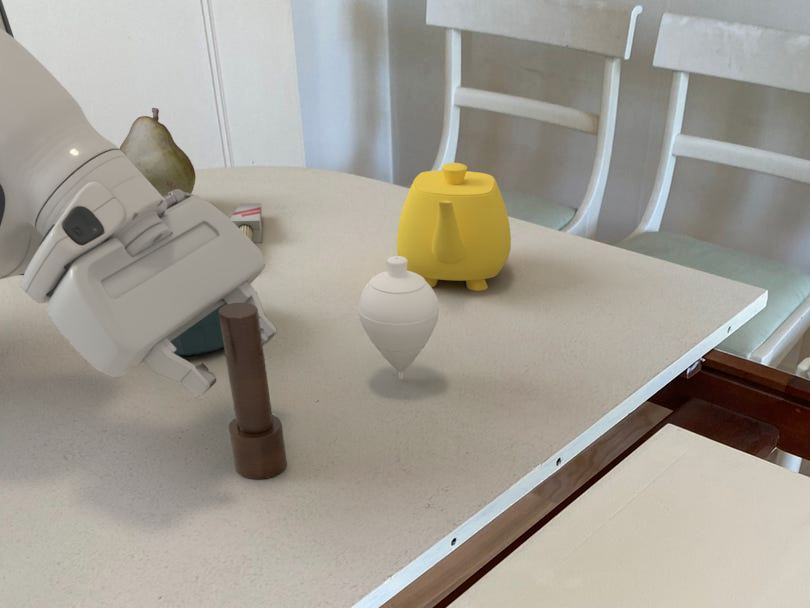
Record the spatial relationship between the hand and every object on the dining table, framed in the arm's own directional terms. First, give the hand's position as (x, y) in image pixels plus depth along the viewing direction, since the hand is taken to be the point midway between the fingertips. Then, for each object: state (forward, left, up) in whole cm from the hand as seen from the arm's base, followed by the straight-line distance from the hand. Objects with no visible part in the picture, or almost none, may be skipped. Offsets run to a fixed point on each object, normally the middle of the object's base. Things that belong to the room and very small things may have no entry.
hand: (239, 364), depth 79 cm
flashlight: (+1, 0, -9) cm, 9 cm away
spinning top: (+13, +16, -9) cm, 22 cm away
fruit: (-20, +65, -9) cm, 68 cm away
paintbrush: (-7, +53, -9) cm, 54 cm away
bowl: (-10, +27, -9) cm, 30 cm away
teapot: (+19, +42, -9) cm, 46 cm away
